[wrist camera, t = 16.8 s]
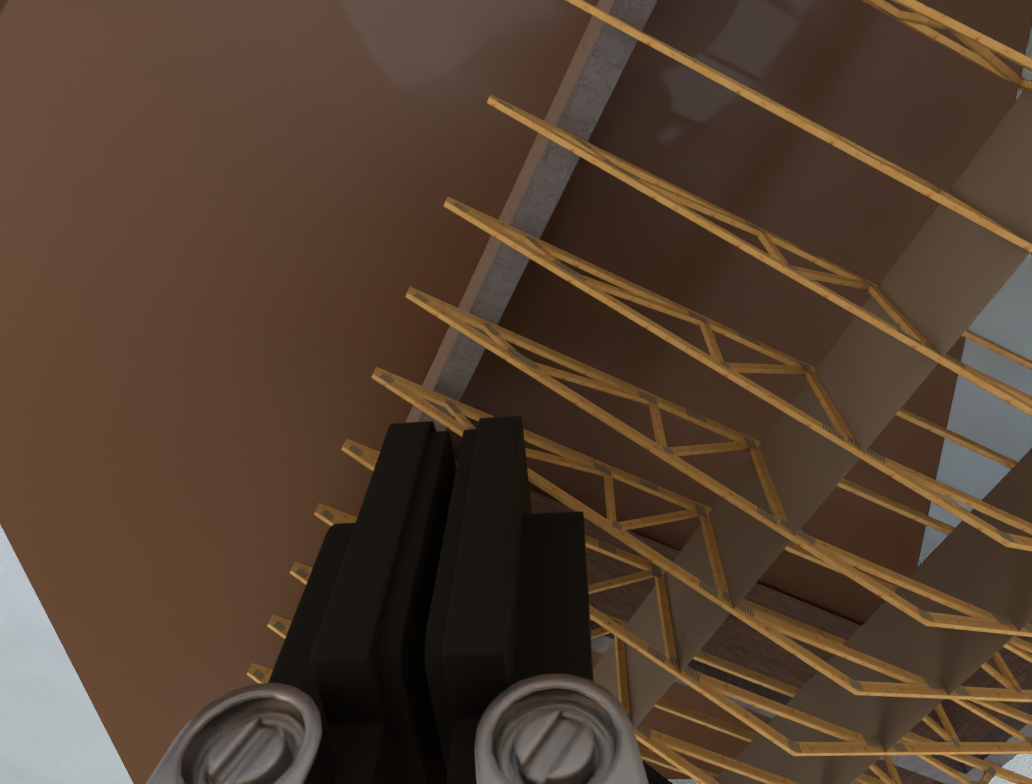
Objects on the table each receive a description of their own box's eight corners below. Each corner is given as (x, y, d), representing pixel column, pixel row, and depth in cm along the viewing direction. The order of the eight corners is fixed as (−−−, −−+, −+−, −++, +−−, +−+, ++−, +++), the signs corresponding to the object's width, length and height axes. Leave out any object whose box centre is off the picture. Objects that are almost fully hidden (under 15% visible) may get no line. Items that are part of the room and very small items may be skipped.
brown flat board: (1285, -1237, 7) (1305, -1269, 7) (870, 768, 21) (873, 775, 20) (-992, -773, 9) (-1023, -788, 9) (5, 784, 22) (0, 790, 22)
